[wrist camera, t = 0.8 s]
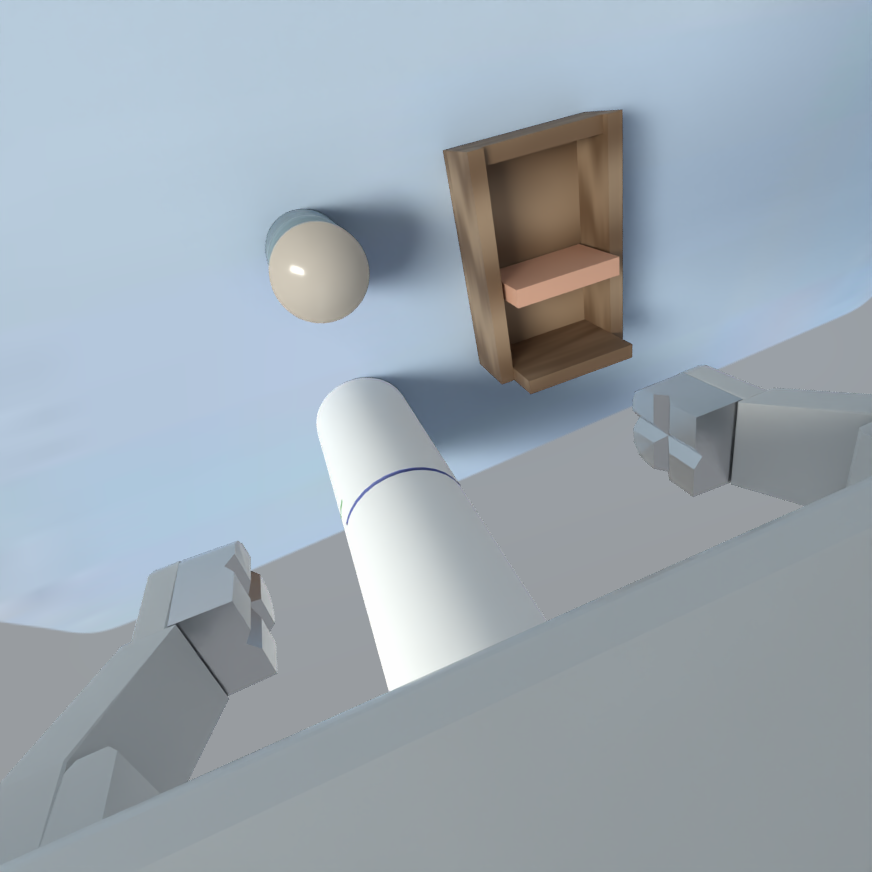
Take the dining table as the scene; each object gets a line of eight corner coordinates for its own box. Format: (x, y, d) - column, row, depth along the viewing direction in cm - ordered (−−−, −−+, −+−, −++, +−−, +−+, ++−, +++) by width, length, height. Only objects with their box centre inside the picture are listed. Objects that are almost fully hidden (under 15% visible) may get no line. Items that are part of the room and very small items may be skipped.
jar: (249, 220, 31) (252, 238, 25) (333, 197, 31) (353, 209, 26) (281, 303, 34) (290, 335, 28) (357, 280, 34) (380, 306, 29)
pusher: (485, 273, 36) (516, 290, 32) (578, 243, 37) (619, 256, 33) (488, 289, 37) (518, 308, 33) (579, 260, 38) (619, 274, 34)
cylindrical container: (423, 393, 40) (618, 662, 20) (387, 468, 42) (528, 780, 22) (336, 365, 37) (463, 655, 16) (303, 449, 39) (377, 795, 19)
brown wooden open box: (442, 150, 32) (484, 153, 27) (584, 112, 34) (650, 107, 28) (479, 363, 40) (517, 398, 35) (591, 324, 42) (644, 352, 37)
